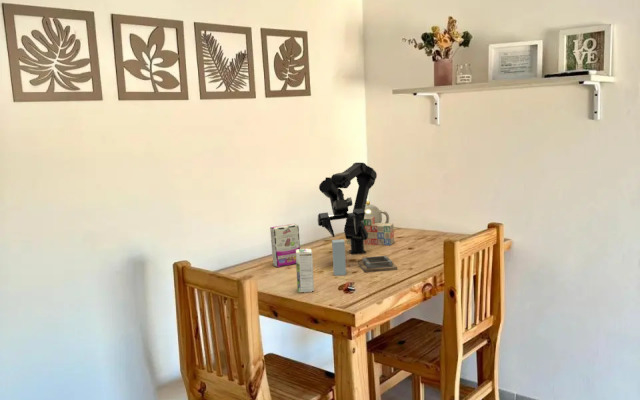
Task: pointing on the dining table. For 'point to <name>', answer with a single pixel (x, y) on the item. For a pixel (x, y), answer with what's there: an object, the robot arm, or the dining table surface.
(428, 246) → the dining table surface
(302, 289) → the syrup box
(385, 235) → the stack of blocks
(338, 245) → the block
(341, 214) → the robot arm
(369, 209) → the teapot
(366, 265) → the jig
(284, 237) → the candy bar box
